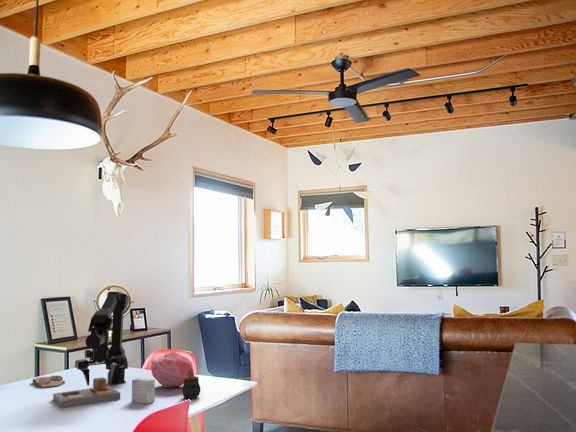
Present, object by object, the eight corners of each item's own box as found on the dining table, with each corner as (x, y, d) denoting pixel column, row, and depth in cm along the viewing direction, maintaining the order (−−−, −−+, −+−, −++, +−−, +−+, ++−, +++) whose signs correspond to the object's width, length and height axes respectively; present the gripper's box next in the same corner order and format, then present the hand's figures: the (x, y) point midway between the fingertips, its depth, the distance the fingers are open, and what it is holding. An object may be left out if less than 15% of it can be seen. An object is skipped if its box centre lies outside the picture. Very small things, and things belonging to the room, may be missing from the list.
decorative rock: (194, 382, 241) (194, 348, 242) (193, 390, 227) (194, 354, 228) (151, 383, 237) (151, 349, 239) (148, 391, 223) (148, 355, 225)
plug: (102, 394, 219) (103, 377, 219) (105, 396, 215) (106, 379, 216) (92, 396, 216) (93, 378, 217) (95, 398, 213) (96, 380, 214)
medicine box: (154, 401, 208) (155, 379, 209) (147, 404, 204) (147, 381, 205) (138, 399, 212) (139, 377, 212) (131, 402, 208) (131, 379, 208)
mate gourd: (184, 401, 209) (185, 375, 210) (179, 396, 216) (179, 371, 217) (202, 398, 213) (202, 373, 214) (196, 394, 219) (196, 369, 220)
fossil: (55, 380, 246) (56, 372, 247) (67, 386, 235) (67, 378, 235) (30, 383, 239) (30, 375, 240) (40, 390, 228) (41, 381, 228)
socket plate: (109, 391, 223) (109, 384, 223) (120, 399, 212) (120, 391, 212) (53, 399, 210) (53, 391, 210) (61, 408, 199) (61, 399, 199)
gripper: (117, 340, 229) (116, 377, 228) (71, 344, 218) (70, 383, 217) (126, 343, 220) (125, 382, 219) (79, 348, 209) (77, 388, 208)
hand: (99, 383), depth 216 cm, fingers open, 9 cm apart
